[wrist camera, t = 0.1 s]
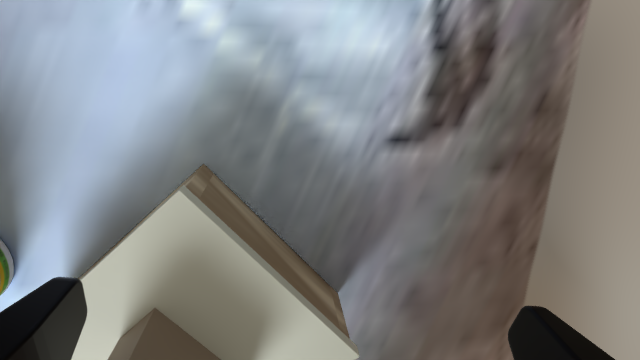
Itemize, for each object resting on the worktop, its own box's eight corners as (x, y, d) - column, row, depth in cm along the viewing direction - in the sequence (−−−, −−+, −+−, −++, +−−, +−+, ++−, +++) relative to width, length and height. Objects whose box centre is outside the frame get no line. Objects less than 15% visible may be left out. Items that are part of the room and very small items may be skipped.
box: (207, 400, 27) (192, 472, 22) (62, 293, 24) (8, 351, 19) (337, 293, 26) (351, 345, 21) (203, 163, 22) (183, 190, 18)
